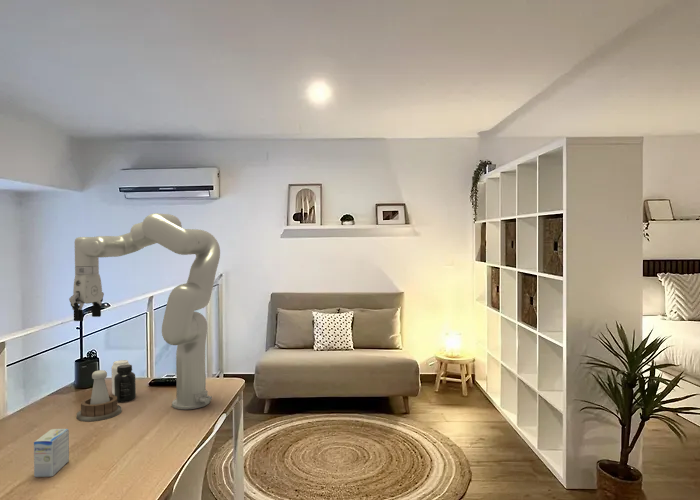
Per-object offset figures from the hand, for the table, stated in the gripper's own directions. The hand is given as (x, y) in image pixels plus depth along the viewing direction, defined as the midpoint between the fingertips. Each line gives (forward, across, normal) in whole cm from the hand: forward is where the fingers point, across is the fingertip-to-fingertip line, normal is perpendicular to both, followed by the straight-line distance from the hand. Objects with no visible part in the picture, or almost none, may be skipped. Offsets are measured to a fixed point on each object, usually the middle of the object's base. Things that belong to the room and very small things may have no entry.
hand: (87, 318), depth 173 cm
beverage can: (+29, +4, -10) cm, 31 cm away
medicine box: (+29, -52, -27) cm, 66 cm away
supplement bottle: (+29, -1, -15) cm, 32 cm away
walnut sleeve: (+28, -16, -15) cm, 36 cm away
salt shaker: (+28, -16, -15) cm, 35 cm away
